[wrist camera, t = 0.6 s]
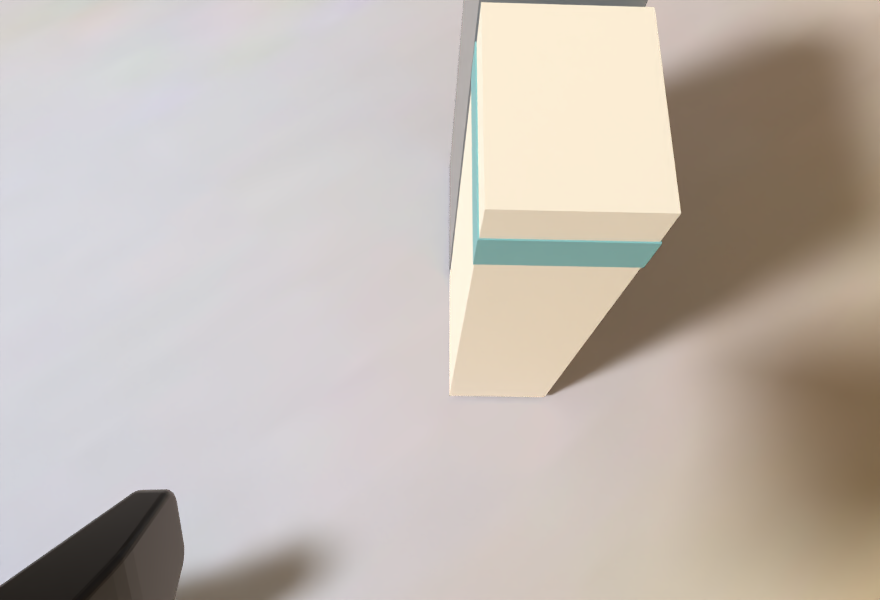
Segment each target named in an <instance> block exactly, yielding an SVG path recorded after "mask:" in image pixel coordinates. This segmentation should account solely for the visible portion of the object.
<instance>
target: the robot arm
mask: <svg viewBox="0 0 880 600" xmlns="http://www.w3.org/2000/svg"><path fill="white" fill-rule="evenodd" d="M183 560H184V542H183V536H182V530H181V524H180V518H179V512H178V506H177V501H176V498H175V496H174V493H173V492H171V491H170V490H167V489H165V490H138V491H135V492H134V493H132V494H130V495H129V496H128V497H126V498H125V499H123V500H122V501H120V502H119V503H118V504H116V505H115V506H113V507H112V508H110V509H109V510H108V511H106V512H105V513H103V514H102V515H100V516H99V517H98V518H96V519H95V520H93V521H92V522H90V523H89V524H88V525H86V526H85V527H83V528H82V529H80V530H79V531H78V532H76V533H75V534H73V535H72V536H70V537H69V538H68V539H66V540H65V541H63V542H62V543H60V544H59V545H58V546H56V547H55V548H53V549H52V550H50V551H49V552H48V553H46V554H45V555H43V556H42V557H40V558H39V559H38V560H36V561H35V562H33V563H32V564H30V565H29V566H28V567H26V568H25V569H23V570H22V571H20V572H19V573H18V574H16V575H15V576H13V577H12V578H10V579H9V580H8V581H6V582H5V583H3V584H2V585H0V600H174V599H175V595H176V590H177V586H178V582H179V578H180V574H181V570H182V566H183Z"/></svg>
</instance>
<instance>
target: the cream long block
mask: <svg viewBox="0 0 880 600" xmlns="http://www.w3.org/2000/svg"><path fill="white" fill-rule="evenodd" d="M680 214H681V209H680V201H679V193H678V186H677V178H676V170H675V162H674V154H673V147H672V139H671V131H670V123H669V116H668V108H667V100H666V92H665V84H664V77H663V69H662V61H661V53H660V45H659V38H658V30H657V22H656V14H655V7H628V6H594V5H560V4H526V3H492V2H481V8H480V17H479V26H478V35H477V42H476V41H475V45H474V54H473V63H472V72H471V96H470V105H469V113H468V122H467V131H466V140H465V148H464V157H463V166H462V175H461V183H460V192H459V201H458V210H457V218H456V227H455V236H454V245H453V253H452V262H451V271H450V334H449V396H497V397H545V396H546V394H547V393H548V392H549V390H550V389H551V388H552V386H553V385H554V384H555V382H556V381H557V380H558V378H559V377H560V376H561V374H562V373H563V372H564V370H565V369H566V368H567V366H568V365H569V363H570V362H571V361H572V359H573V358H574V357H575V355H576V354H577V353H578V351H579V350H580V349H581V347H582V346H583V345H584V343H585V342H586V341H587V339H588V338H589V337H590V335H591V334H592V333H593V331H594V330H595V329H596V327H597V326H598V325H599V323H600V322H601V320H602V319H603V318H604V316H605V315H606V314H607V312H608V311H609V310H610V308H611V307H612V306H613V304H614V303H615V302H616V300H617V299H618V298H619V296H620V295H621V294H622V292H623V291H624V290H625V288H626V287H627V286H628V284H629V283H630V282H631V280H632V279H633V278H634V276H635V275H636V273H637V272H638V271H639V269H640V268H644V267H645V265H646V264H647V263H648V261H649V260H650V259H651V257H652V256H653V255H654V254H655V252H656V251H657V250H658V248H659V247H660V246H661V244H662V239H663V237H664V236H665V235H666V233H667V232H668V231H669V229H670V228H671V226H672V225H673V224H674V222H675V221H676V220H677V218H678V217H679V216H680Z"/></svg>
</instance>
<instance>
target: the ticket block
mask: <svg viewBox="0 0 880 600" xmlns="http://www.w3.org/2000/svg"><path fill="white" fill-rule="evenodd" d="M647 1H648V0H463V13H462V25H461V37H460V49H459V61H458V73H457V85H456V97H455V109H454V121H453V133H452V145H451V157H450V228H449V270H451V262H452V253H453V245H454V236H455V227H456V218H457V210H458V201H459V192H460V183H461V175H462V166H463V157H464V148H465V140H466V131H467V122H468V113H469V105H470V96H471V72H472V63H473V54H474V45H475V41H476V42H477V35H478V26H479V17H480V8H481V2H492V3H526V4H560V5H594V6H628V7H645V6H646V3H647Z"/></svg>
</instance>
